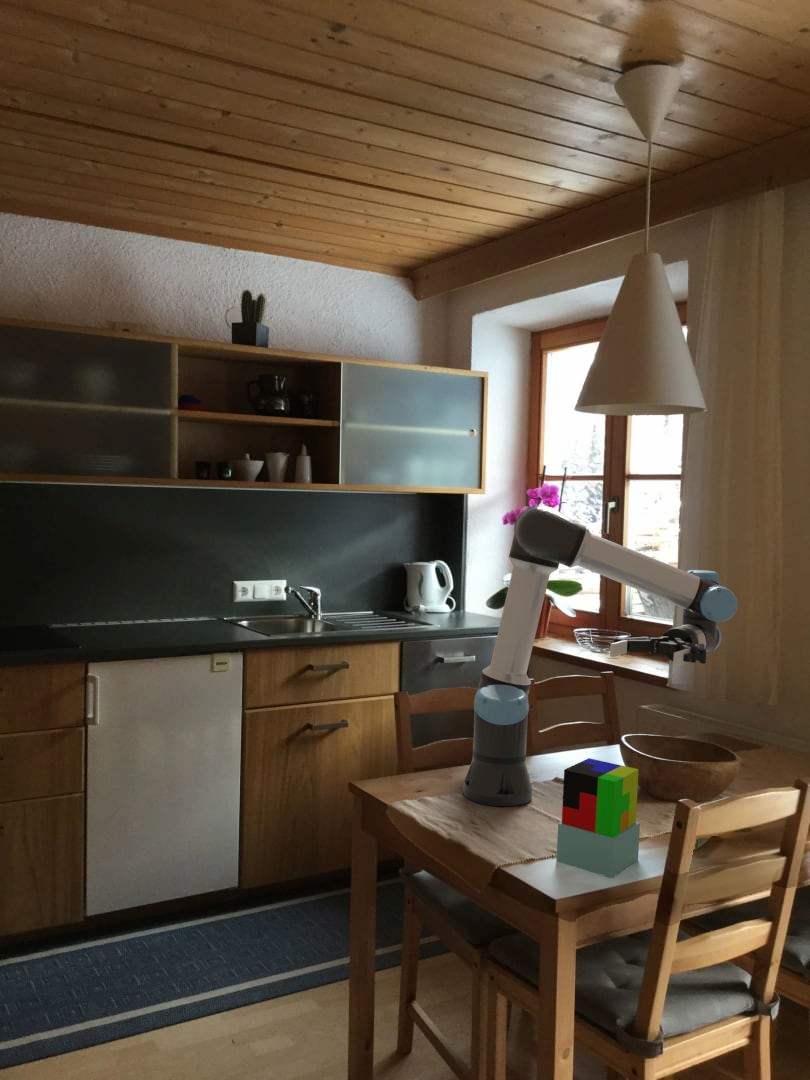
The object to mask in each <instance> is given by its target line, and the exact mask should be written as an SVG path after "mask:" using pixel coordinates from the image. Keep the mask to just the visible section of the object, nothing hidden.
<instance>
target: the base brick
mask: <svg viewBox="0 0 810 1080" xmlns="http://www.w3.org/2000/svg"><path fill="white" fill-rule="evenodd" d="M640 829H641V822H639V821H636V823H634V824H633V825H631V826H630V827H628V828H627V829H625V830H623V831H622V832H620V833H619V834H617V835H616V836H614V837H613V838H612V837H609V836H605V835H602V834H598V833H594V832H591V831H587V830H583V829H580V828H576V827H573V826H569V825H565V824H562V821H560V822H558V823H557V840H556V841H557V843H556V862H559V863H563V864H565V865H569V866H571V867H575V868H579V869H581V870H584V871H588V872H591V873H594V874H598V875H601V876H604V877H607V878H609V879H610V878H611V879H613V878H614V877H616V876H617V875H618V874H620V873H621V872H622V871H624V870H626V869H627V868H628V867H630V866H631V865H633V864H634V863H636V862H637V861H638V860H639V849H640V847H639V846H640V831H641V830H640Z"/></svg>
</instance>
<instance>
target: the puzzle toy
mask: <svg viewBox="0 0 810 1080" xmlns="http://www.w3.org/2000/svg"><path fill="white" fill-rule="evenodd" d="M639 770H640V769H639V768H638V769H637V768H636V767H635V768H634V767H631V766H630V767H629V766H627V765H626V766H625V765H621V764H617V763H613V762H608V761H602V760H598V759H595V758H586V759H584V760H581V761H579V762H577V763H576V764H573V765H572V766H569V767H567V768H565V769H564V770H563V771H564V772H563V789H562V790H563V791H562V809H561V810H562V811H561V822H562V824H565V825H569V826H573V827H576V828H580V829H583V830H587V831H591V832H594V833H598V834H602V835H605V836H609V837H612V838H613V837H614V836H616V835H617V834H619V833H620V832H622V831H623V830H625V829H627V828H628V827H630V826H631V825H633V824H634V823H636V822H637V806H638V805H637V804H638V787H639V785H638V784H639Z"/></svg>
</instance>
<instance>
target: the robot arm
mask: <svg viewBox="0 0 810 1080" xmlns="http://www.w3.org/2000/svg"><path fill="white" fill-rule="evenodd" d="M513 527H514V528H513V531H514V532H513V533H514V534H513V538H512V542H511V547H510V552H509V554H508V555H509V556H508V558H509V560H510V562H511V563H512V570H511V571H512V572H511V575H510V580H509V584H508V588H507V593H506V597H505V601H504V605H503V610H502V613H501V619H500V623H499V625H498V626H499V627H498V631H497V636H496V639H495V644H494V647H493V648H494V649H493V653H492V658H491V661H490V665H488V666H487V667H485V668H483V669H482V671H481V674H480V680H479V684H478V688H477V691H476V692H475V695H474V700H473V710H474V711H473V712H474V713H473V715H474V718H473V721H474V722H473V741H472V742H473V743H472V746H473V747H472V758H471V759H472V760H471V763H470V766H469V768H468V770H467V774H466V775H465V779H464V781H463V788H462V791H463V792H462V793H463V795H464V797H465V798H467V799H468V800H470V801H472V802H475V803H478V804H481V805H485V806H495V807H516V806H522V805H524V804H528V803H529V802H531V801H532V799H533V786H532V782H531V779H530V778H531V777H530V774H529V771H528V767H527V762H526V756H527V742H528V741H527V739H528V738H527V736H528V714H529V711H530V704H529V692H530V689H531V684H532V681H531V679H530V678H529V676H528V674H527V672H528V670H529V669H528V668H529V664H530V659H531V655H532V651H533V647H534V644H535V643H534V642H535V638H536V634H537V630H538V625H539V622H540V619H541V618H540V617H541V613H542V608H543V605H544V601H545V596H546V593H547V588H548V584H549V580H550V576H551V574H552V573H554V572H555V571H557V570H558V569H559V566H560V564H561V565H562V566H565V567H568V568H573V567H577V566H578V567H580V568H583V569H585V570H588V571H590V572H593V573H595V574H598V575H600V576H603V577H606V578H608V579H609V580H610V579H611V580H613V581H615V582H617V583H620V584H623V585H626V586H628V587H630V588H633V589H636V590H638V591H640V592H642V593H645V594H648V595H650V596H653V597H655V598H657V599H660V600H662V601H665V602H667V603H670V604H672V605H674V606H678V607H680V608H683V609H682V610H683V611H682V612H683V613H682V625H678V626H676V627H672V628H669V629H667V630H666V631H665V632H664V633H662V636H659V637H649V636H647V635H645V636H638V637H614V638H613V642H612V643H610V648H609V649H610V652H609V657H611V658H614V657H618V656H624V655H626V654H627V653H640V652H641V653H649V654H651V655H661V656H664V657H665V658H666V659H667V660H669V661H671V662H672V666H673V667H680V666H683V665H686V664H688V663H689V664H690V663H692V664H693V663H696V662H697V661H698V662H699V663H700V664H704V665H705V664H706V663H707V655H709V654H711V653H712V652H714V651H715V650H716V649H718V648H719V646H721V643H722V639H723V638H722V632H721V629H720V628H719V626H718V623H723V622H726V621H729V620H731V618H733V617H734V615H735V614H736V612H737V611H738V599H737V597H736V595H735V593H734V592H733V591H732V590H731V589H730V588H728V587H727V586H723V585H721V583H720V575H719V574H720V573H719V572H717V571H713V570H704V569H703V570H702V569H691V570H690V569H689V570H687V571H685V570H683V569H680V568H678V567H675V566H673V565H670V564H668V563H665V562H663V561H661V560H659V559H656V558H653V557H651V556H648V555H645V554H644V553H641V552H638V551H636V550H633V549H631V548H628V547H626V546H623V545H621V544H618V543H617V542H614V541H611V540H609V539H606V538H603V537H601V536H598V535H596V534H593V533H591V531H590V530H589V527H588V526H586V525H584V524H582V523H580V522H577V521H575V520H574V519H571V518H570V517H568V516H567V515H565V514H563V513H561V511H560V510H557V509H556V508H553V507H551V506H548V505H543V504H537V505H532V506H530V507H527V508H526V509H524V510H523V511H522V512H521V513H520V514H519V515H518V517H517V518H516V520H515V523H514V526H513Z"/></svg>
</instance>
